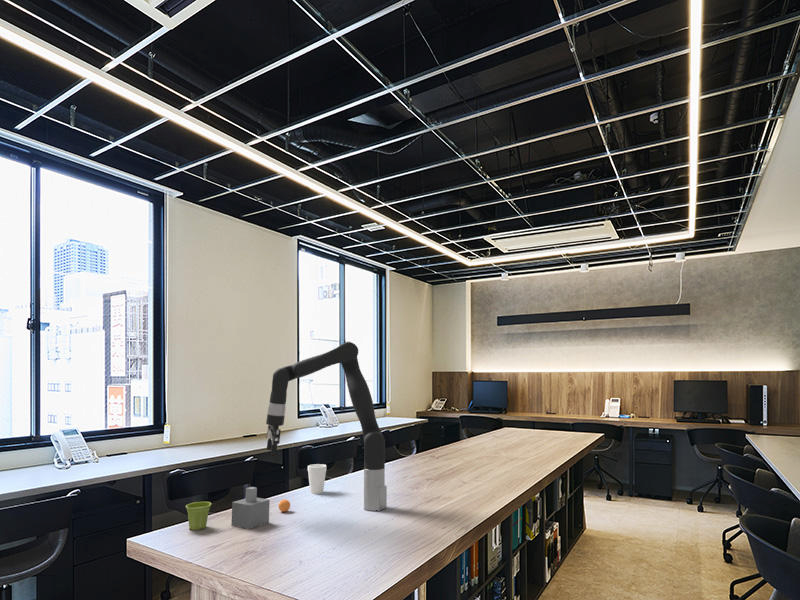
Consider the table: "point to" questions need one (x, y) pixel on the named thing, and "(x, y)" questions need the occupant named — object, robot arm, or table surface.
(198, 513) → the plant pot
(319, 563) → the table surface
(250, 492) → the grey block with knob
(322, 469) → the foam cup
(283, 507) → the ball
